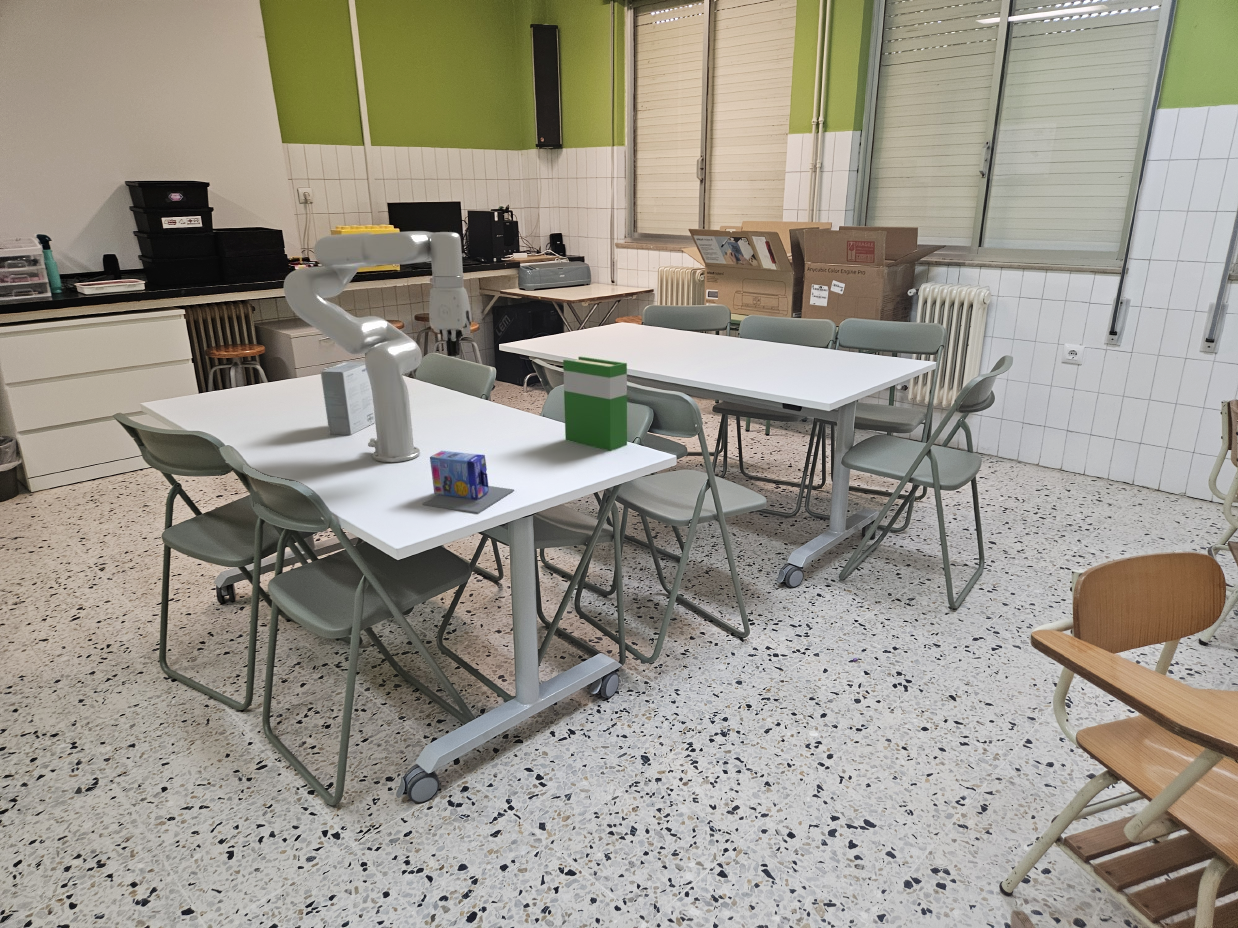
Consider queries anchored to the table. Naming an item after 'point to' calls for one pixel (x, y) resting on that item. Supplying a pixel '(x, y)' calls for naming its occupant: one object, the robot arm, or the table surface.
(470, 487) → the ink cartridge box
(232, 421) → the table surface
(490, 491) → the mat
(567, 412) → the hardback book
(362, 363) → the hard drive box
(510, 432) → the table surface
